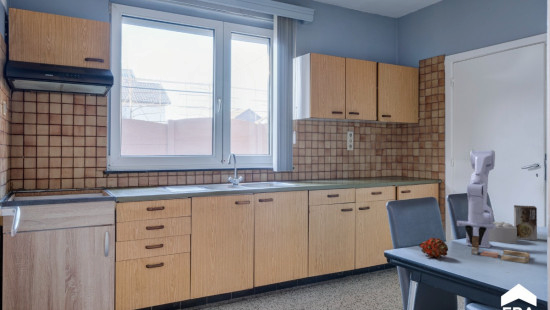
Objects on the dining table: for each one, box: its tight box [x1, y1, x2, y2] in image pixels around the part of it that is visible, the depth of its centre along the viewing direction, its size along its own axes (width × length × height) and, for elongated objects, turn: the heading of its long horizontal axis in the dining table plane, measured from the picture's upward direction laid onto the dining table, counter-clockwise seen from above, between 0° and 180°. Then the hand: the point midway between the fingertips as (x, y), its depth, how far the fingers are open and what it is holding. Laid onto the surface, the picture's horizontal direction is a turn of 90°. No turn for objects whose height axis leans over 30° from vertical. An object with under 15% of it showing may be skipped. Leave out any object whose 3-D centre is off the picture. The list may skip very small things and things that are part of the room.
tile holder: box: [500, 249, 530, 264], centre depth 158 cm, size 9×11×2 cm
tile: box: [480, 250, 500, 258], centre depth 163 cm, size 6×6×1 cm
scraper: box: [470, 236, 480, 255], centre depth 166 cm, size 2×6×7 cm, turn 145°
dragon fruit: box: [418, 237, 449, 259], centre depth 160 cm, size 8×8×12 cm
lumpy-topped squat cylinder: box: [489, 221, 518, 244], centre depth 190 cm, size 10×13×9 cm
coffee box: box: [513, 204, 538, 241], centre depth 194 cm, size 9×6×16 cm
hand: (475, 244), depth 166 cm, fingers closed on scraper, 2 cm apart
